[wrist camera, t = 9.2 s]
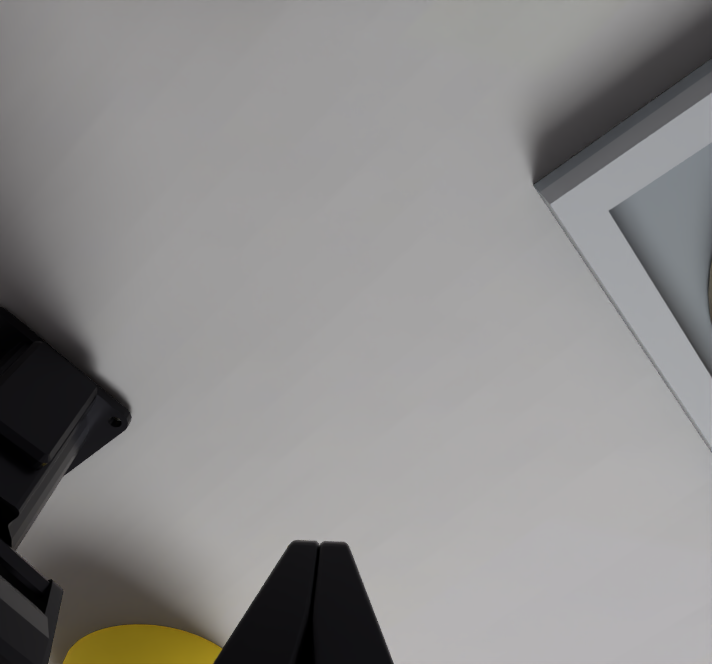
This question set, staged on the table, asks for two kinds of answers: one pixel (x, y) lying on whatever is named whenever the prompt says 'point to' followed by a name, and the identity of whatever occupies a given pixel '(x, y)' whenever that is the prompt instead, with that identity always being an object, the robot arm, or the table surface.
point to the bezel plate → (652, 231)
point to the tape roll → (142, 646)
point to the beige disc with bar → (710, 293)
